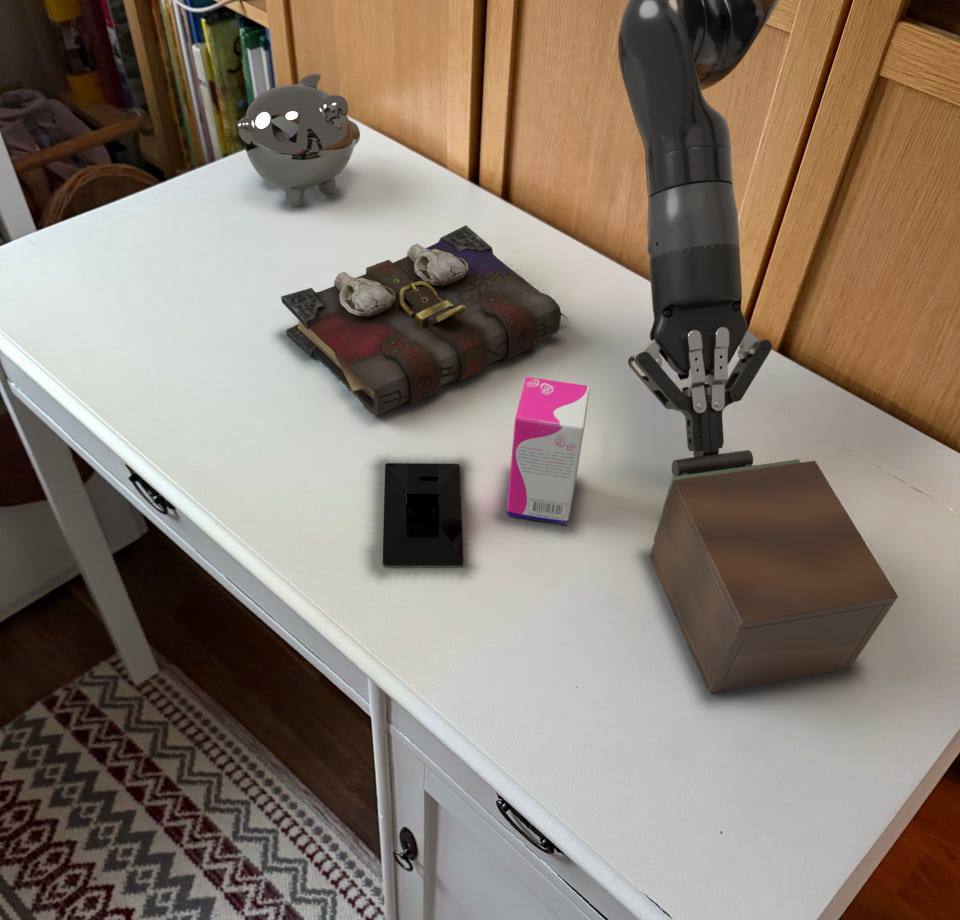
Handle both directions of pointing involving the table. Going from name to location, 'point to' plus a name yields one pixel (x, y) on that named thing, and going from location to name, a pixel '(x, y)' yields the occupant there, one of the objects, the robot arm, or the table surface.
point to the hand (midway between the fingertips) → (706, 456)
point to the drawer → (715, 466)
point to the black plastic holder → (422, 516)
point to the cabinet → (767, 575)
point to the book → (421, 320)
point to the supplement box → (546, 449)
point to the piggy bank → (299, 137)
